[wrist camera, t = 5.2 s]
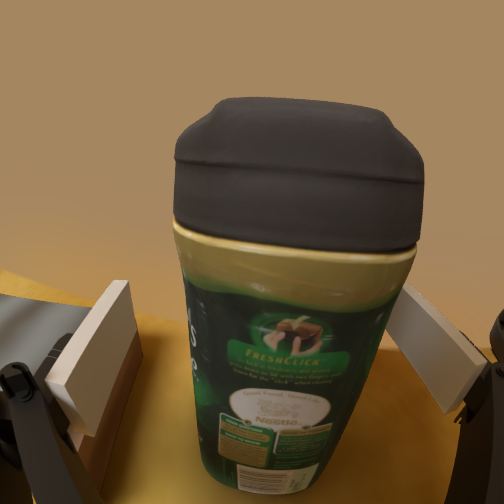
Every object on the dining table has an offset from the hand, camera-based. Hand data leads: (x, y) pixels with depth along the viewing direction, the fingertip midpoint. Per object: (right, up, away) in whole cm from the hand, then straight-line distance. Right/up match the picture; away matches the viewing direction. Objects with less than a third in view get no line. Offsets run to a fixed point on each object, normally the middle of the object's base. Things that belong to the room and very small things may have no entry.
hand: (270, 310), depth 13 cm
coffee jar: (0, -10, +3) cm, 10 cm away
